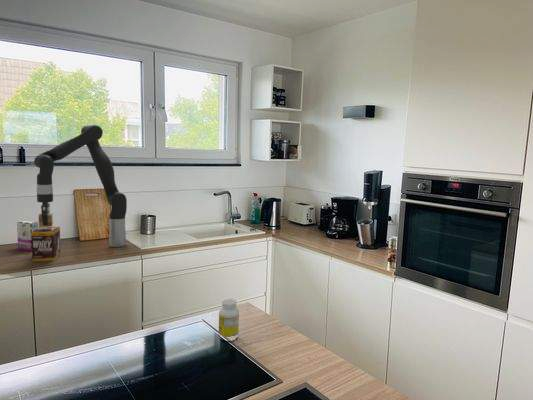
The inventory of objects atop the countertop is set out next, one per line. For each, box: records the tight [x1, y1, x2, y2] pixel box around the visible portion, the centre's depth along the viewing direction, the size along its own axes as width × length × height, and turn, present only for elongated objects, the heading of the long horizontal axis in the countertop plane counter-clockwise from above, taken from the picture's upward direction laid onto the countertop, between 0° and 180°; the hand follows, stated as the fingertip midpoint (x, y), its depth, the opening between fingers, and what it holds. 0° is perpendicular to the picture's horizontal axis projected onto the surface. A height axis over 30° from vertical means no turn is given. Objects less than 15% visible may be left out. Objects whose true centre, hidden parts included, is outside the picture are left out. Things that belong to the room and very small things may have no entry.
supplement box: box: [31, 226, 61, 262], centre depth 214 cm, size 10×15×16 cm
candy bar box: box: [16, 219, 39, 252], centre depth 228 cm, size 11×5×16 cm, turn 70°
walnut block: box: [38, 212, 54, 228], centre depth 212 cm, size 6×6×6 cm
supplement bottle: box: [218, 298, 240, 337], centre depth 133 cm, size 7×7×13 cm
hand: (46, 223), depth 213 cm, fingers closed on walnut block, 6 cm apart
